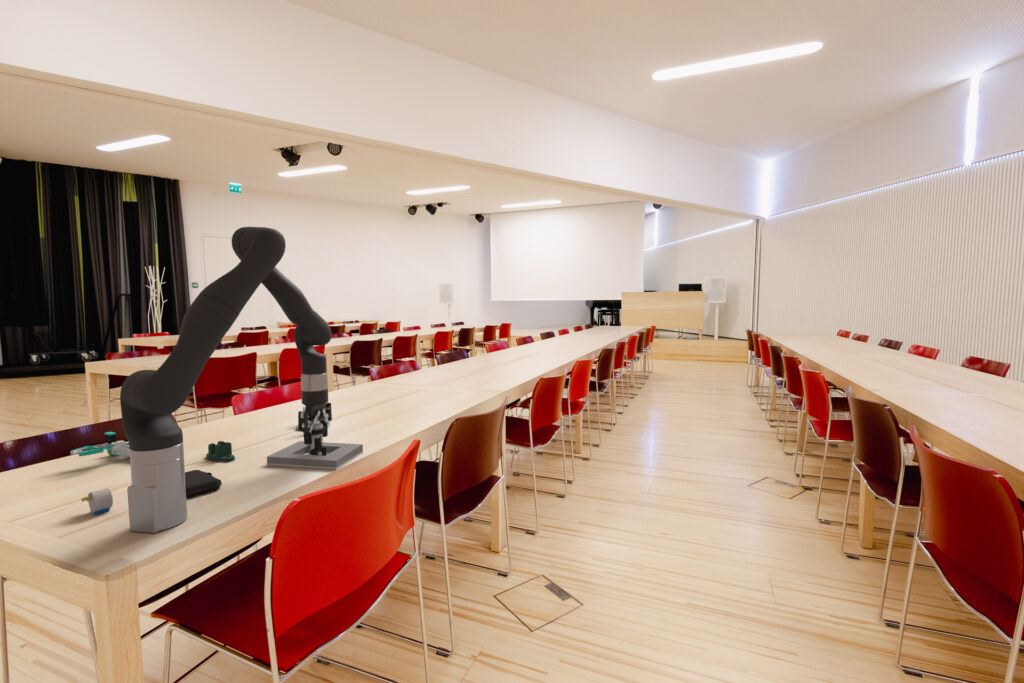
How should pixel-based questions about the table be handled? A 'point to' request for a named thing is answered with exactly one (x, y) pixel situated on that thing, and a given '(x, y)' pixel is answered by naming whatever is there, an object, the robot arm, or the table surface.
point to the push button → (317, 440)
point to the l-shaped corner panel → (309, 421)
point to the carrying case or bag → (200, 483)
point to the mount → (220, 452)
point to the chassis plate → (299, 455)
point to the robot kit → (105, 447)
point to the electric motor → (99, 501)
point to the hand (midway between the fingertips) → (316, 440)
